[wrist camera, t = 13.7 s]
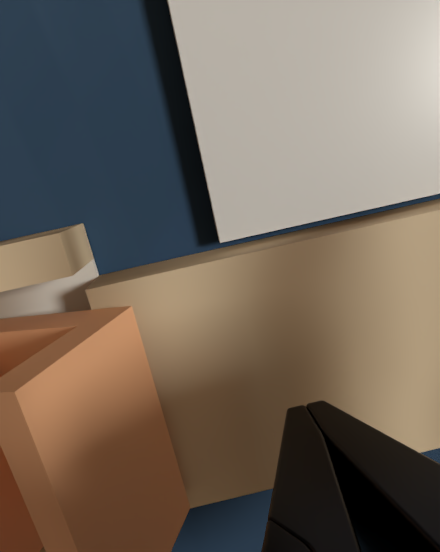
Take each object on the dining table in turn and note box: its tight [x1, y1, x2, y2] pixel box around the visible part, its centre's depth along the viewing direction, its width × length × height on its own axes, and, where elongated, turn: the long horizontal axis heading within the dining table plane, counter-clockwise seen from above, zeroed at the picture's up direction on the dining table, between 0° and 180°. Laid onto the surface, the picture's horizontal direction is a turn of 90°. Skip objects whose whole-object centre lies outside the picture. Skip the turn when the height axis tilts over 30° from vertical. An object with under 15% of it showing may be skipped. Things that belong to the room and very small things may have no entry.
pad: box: [167, 0, 440, 243], centre depth 10 cm, size 7×8×1 cm
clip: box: [0, 306, 190, 552], centre depth 9 cm, size 4×6×4 cm
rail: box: [0, 199, 440, 552], centre depth 11 cm, size 21×10×2 cm, turn 102°
